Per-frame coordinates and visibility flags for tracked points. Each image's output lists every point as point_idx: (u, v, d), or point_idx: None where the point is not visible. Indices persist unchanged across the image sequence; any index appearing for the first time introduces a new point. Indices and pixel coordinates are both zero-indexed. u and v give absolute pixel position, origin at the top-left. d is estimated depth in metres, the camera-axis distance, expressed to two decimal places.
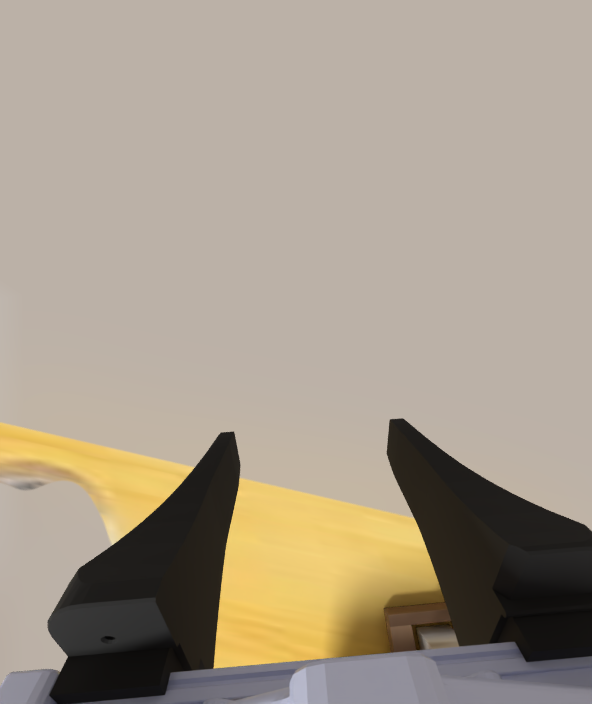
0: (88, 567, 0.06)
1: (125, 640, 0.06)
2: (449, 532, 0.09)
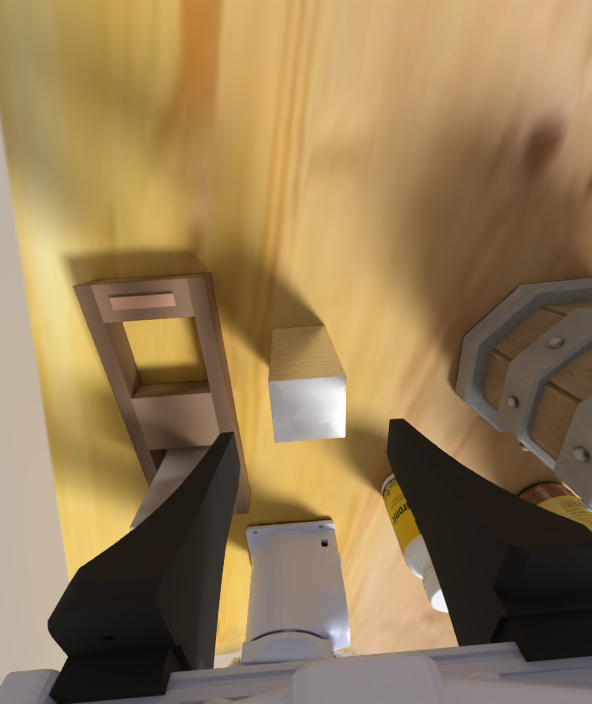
0: (88, 567, 0.06)
1: (125, 640, 0.06)
2: (449, 532, 0.09)
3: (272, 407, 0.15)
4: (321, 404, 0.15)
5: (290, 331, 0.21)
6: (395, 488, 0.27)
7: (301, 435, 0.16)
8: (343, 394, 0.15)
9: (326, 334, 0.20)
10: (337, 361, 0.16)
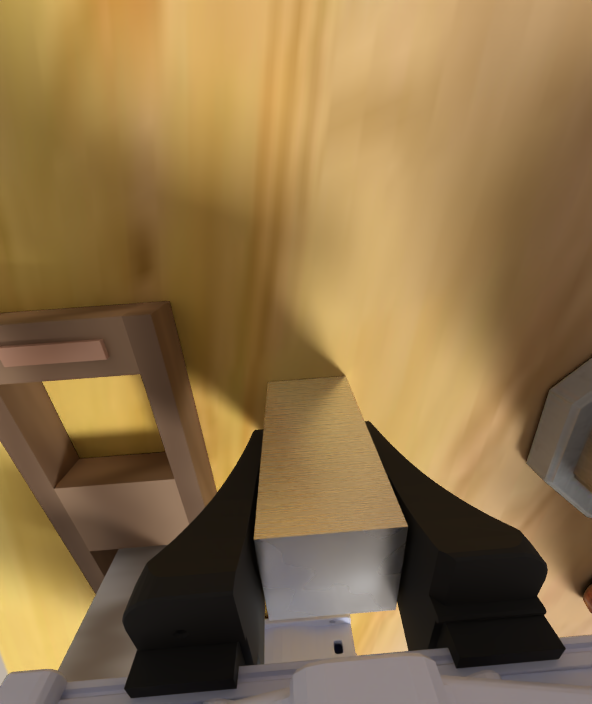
0: (156, 562, 0.07)
1: (196, 634, 0.06)
2: None
3: (263, 575, 0.08)
4: (356, 569, 0.08)
5: (294, 388, 0.14)
6: None
7: (317, 610, 0.09)
8: (400, 553, 0.08)
9: (351, 397, 0.13)
10: (381, 474, 0.09)
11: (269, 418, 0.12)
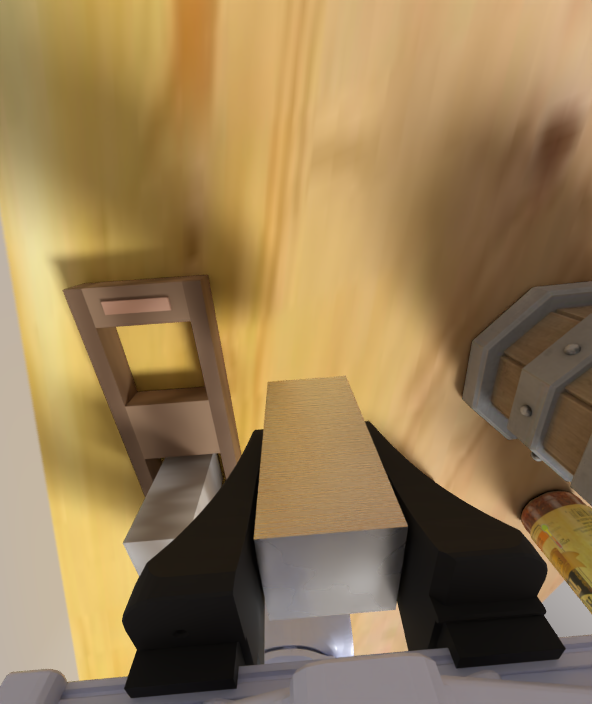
0: (156, 562, 0.07)
1: (196, 634, 0.06)
2: None
3: (263, 575, 0.08)
4: (356, 569, 0.08)
5: (294, 388, 0.14)
6: None
7: (317, 610, 0.09)
8: (400, 552, 0.08)
9: (351, 397, 0.13)
10: (381, 474, 0.09)
11: (269, 418, 0.12)
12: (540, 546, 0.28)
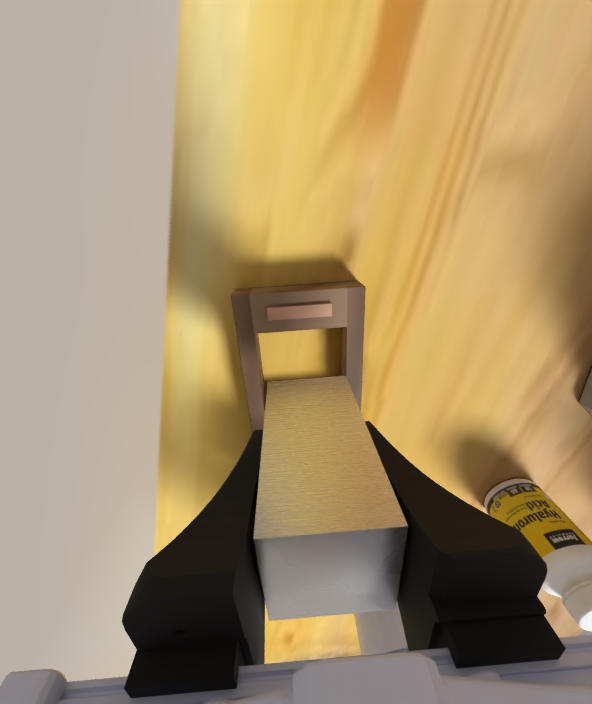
0: (156, 562, 0.07)
1: (196, 634, 0.06)
2: None
3: (262, 575, 0.08)
4: (356, 569, 0.08)
5: (293, 387, 0.14)
6: (507, 499, 0.26)
7: (317, 610, 0.09)
8: (400, 553, 0.08)
9: (351, 397, 0.13)
10: (381, 473, 0.09)
11: (269, 418, 0.12)
12: None
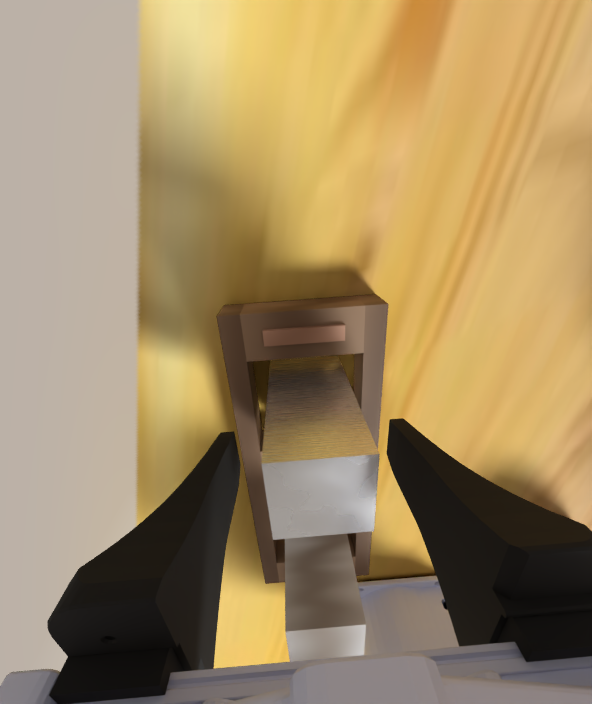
0: (88, 568, 0.06)
1: (125, 640, 0.06)
2: (449, 532, 0.09)
3: (268, 496, 0.10)
4: (341, 492, 0.10)
5: (292, 364, 0.16)
6: None
7: (311, 530, 0.11)
8: (374, 477, 0.10)
9: (341, 370, 0.15)
10: (362, 422, 0.11)
11: (272, 386, 0.14)
12: None
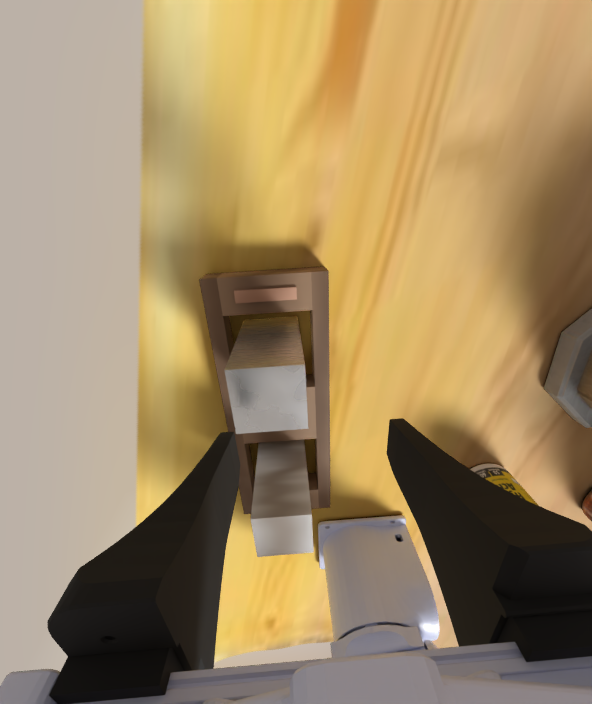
0: (88, 567, 0.06)
1: (125, 640, 0.06)
2: (449, 532, 0.09)
3: (230, 397, 0.15)
4: (281, 394, 0.15)
5: (260, 321, 0.21)
6: None
7: (263, 426, 0.16)
8: (304, 383, 0.15)
9: (296, 324, 0.20)
10: (300, 350, 0.16)
11: (241, 334, 0.19)
12: None
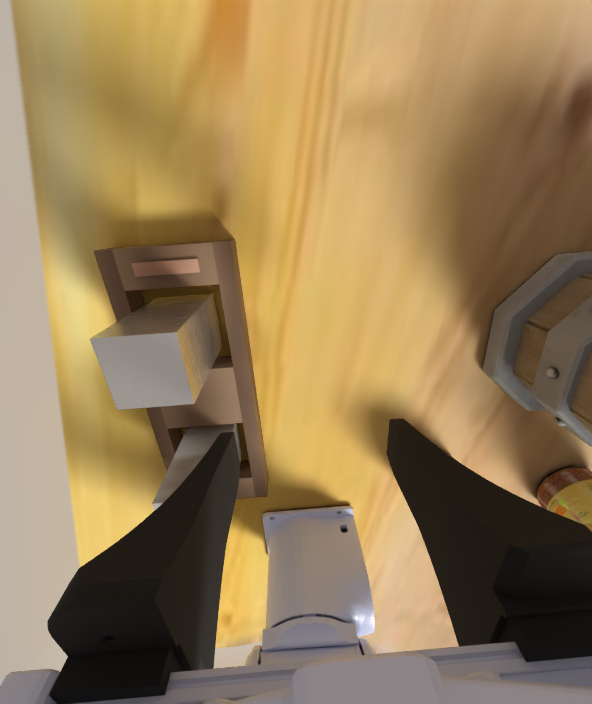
0: (88, 568, 0.06)
1: (125, 640, 0.06)
2: (449, 532, 0.09)
3: (102, 368, 0.14)
4: (157, 366, 0.14)
5: (172, 298, 0.20)
6: None
7: (144, 401, 0.15)
8: (179, 353, 0.14)
9: (204, 300, 0.19)
10: (184, 320, 0.15)
11: (141, 308, 0.18)
12: None
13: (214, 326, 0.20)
